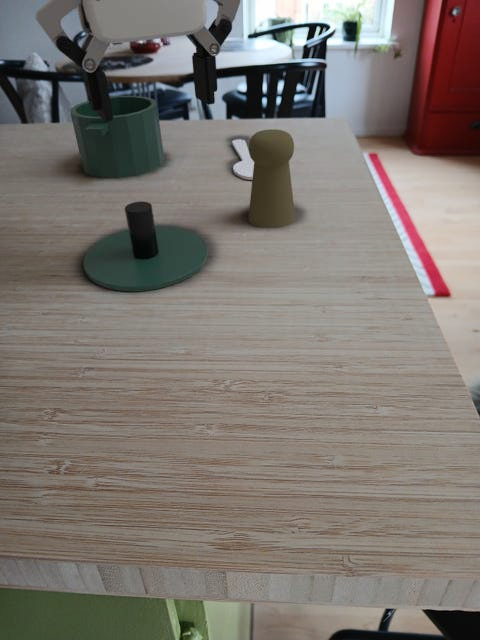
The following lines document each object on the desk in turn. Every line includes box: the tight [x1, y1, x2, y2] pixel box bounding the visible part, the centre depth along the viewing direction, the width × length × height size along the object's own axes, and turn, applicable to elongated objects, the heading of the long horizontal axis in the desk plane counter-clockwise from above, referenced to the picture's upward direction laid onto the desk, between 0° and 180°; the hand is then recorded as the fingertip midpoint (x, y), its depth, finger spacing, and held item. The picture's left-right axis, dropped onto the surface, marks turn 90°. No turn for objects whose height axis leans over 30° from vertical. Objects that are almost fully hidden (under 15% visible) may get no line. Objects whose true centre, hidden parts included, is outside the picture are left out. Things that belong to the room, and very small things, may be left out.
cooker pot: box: [70, 95, 165, 179], centre depth 79 cm, size 13×18×10 cm
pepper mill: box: [248, 128, 296, 229], centre depth 61 cm, size 6×6×11 cm
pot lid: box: [83, 201, 209, 292], centre depth 55 cm, size 14×14×7 cm
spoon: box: [231, 139, 254, 181], centre depth 82 cm, size 5×18×1 cm, turn 8°
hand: (157, 109), depth 47 cm, fingers open, 9 cm apart
